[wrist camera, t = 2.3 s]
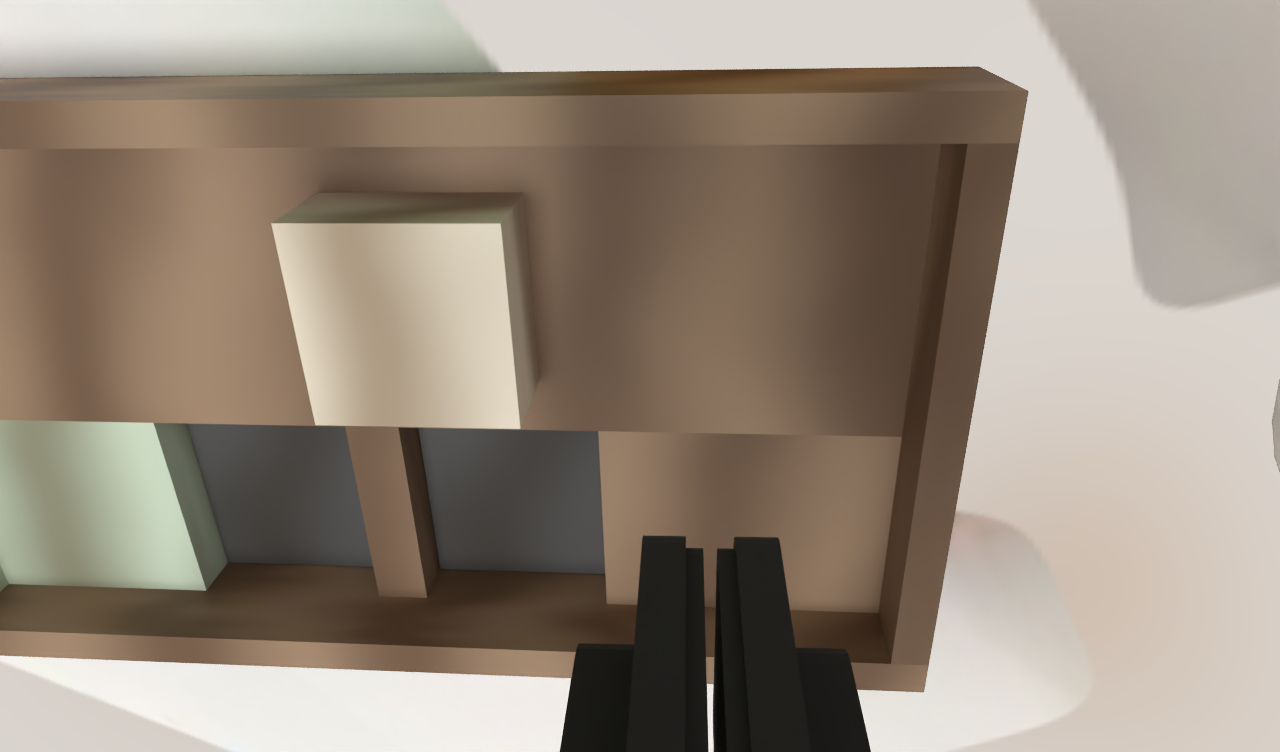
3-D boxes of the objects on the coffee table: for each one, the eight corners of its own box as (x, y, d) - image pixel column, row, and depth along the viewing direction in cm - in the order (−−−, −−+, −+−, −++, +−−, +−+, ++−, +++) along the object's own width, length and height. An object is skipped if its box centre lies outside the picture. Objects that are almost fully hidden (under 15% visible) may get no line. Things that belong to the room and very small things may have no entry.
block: (523, 192, 20) (500, 223, 18) (538, 380, 23) (520, 428, 21) (317, 192, 21) (271, 223, 19) (353, 377, 23) (315, 425, 21)
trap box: (978, 66, 20) (1028, 90, 17) (899, 605, 27) (923, 692, 24) (-193, 80, 22) (-341, 104, 19) (23, 576, 29) (-59, 652, 26)
